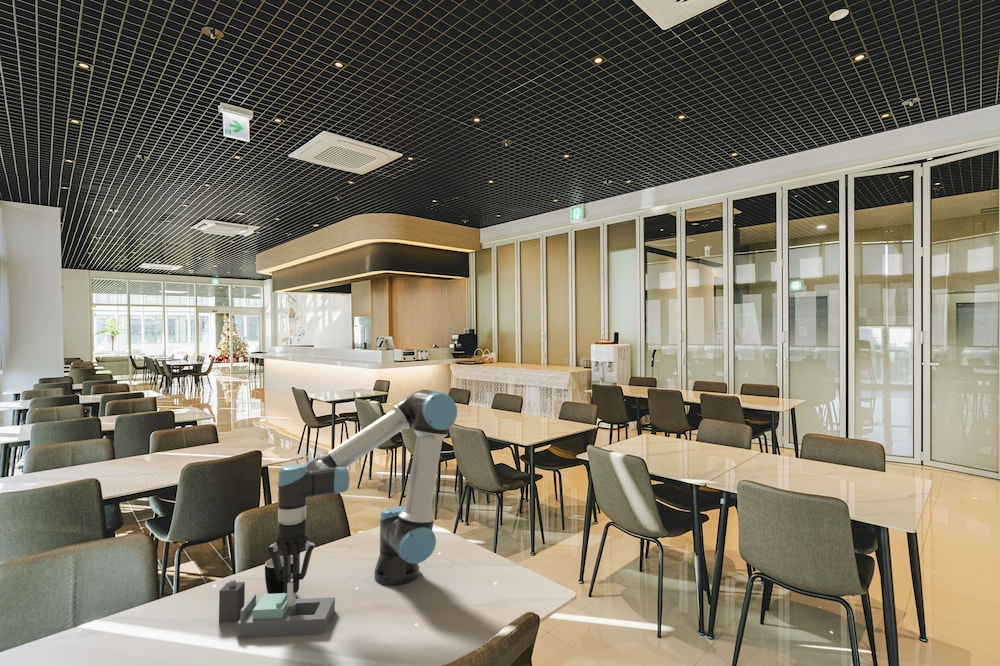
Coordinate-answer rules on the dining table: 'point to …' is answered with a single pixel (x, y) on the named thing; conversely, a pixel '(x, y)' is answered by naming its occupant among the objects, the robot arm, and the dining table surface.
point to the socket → (288, 619)
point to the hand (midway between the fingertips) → (291, 603)
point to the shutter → (271, 606)
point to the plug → (231, 601)
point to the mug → (270, 577)
